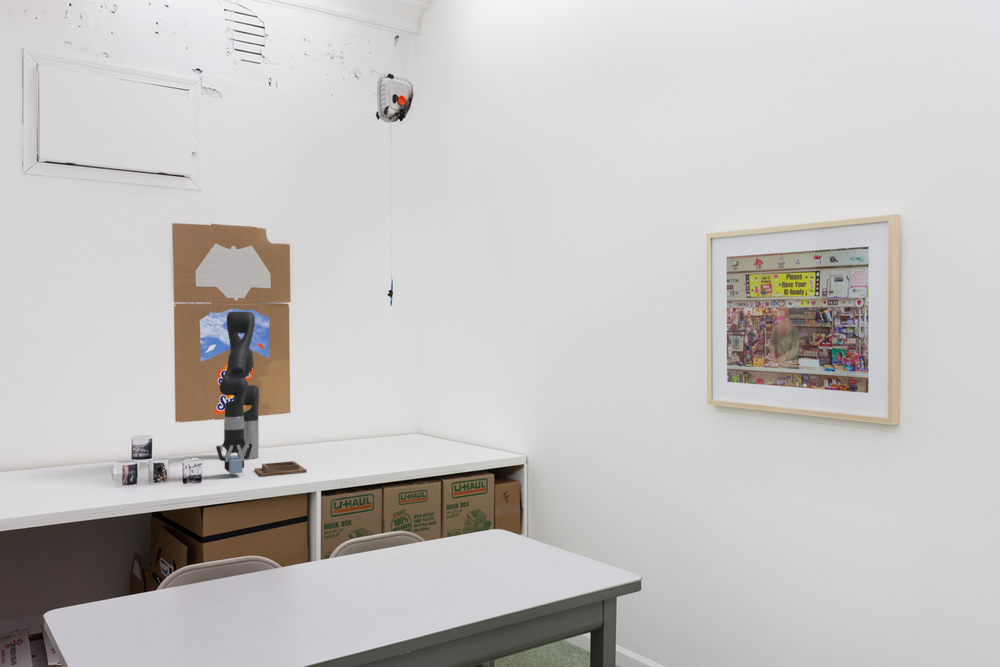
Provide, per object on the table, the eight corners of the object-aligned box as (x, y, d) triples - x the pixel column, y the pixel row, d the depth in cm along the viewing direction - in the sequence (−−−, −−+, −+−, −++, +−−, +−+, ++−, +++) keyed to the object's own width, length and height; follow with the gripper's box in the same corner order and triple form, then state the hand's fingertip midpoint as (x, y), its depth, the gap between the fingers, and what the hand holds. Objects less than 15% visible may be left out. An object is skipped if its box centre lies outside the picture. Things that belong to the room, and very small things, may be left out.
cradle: (254, 470, 292) (254, 463, 292) (298, 466, 300) (298, 459, 300) (260, 476, 279) (260, 469, 279) (306, 472, 288) (306, 465, 288)
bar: (226, 469, 284) (226, 457, 284) (238, 468, 286) (238, 456, 286) (230, 473, 276) (230, 461, 276) (242, 472, 279) (242, 460, 279)
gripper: (251, 425, 288) (251, 466, 288) (213, 427, 281) (213, 470, 281) (254, 427, 281) (254, 470, 282) (216, 430, 274) (216, 473, 275)
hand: (234, 469), depth 281 cm, fingers closed on bar, 4 cm apart
